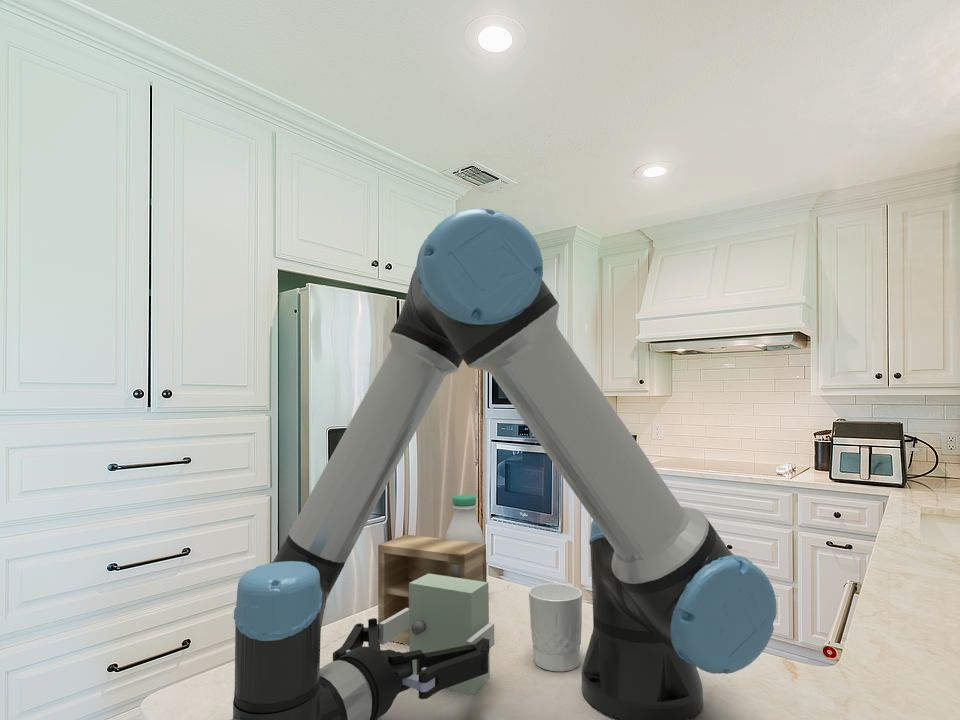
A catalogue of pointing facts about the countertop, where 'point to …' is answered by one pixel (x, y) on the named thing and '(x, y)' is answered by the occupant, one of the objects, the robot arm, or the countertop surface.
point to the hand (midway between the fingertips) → (448, 625)
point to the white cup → (556, 625)
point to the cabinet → (422, 568)
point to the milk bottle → (464, 520)
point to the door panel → (447, 618)
